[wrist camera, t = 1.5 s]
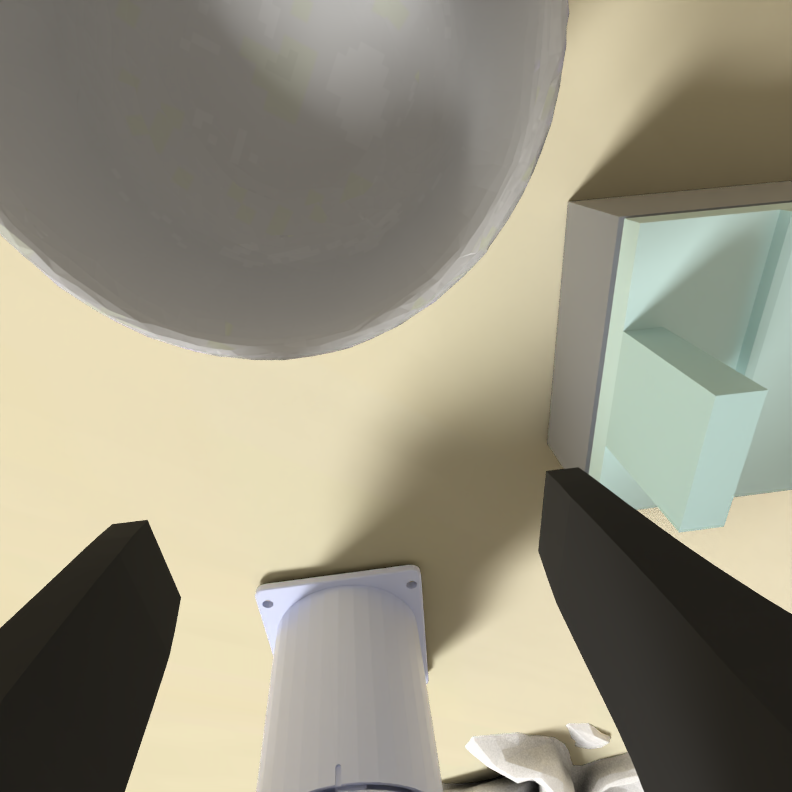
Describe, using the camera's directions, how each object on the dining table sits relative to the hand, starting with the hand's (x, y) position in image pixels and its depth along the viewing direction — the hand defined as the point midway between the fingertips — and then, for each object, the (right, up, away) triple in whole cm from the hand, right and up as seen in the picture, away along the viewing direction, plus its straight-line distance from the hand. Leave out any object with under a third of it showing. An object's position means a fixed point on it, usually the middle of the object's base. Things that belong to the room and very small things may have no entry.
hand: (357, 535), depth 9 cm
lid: (+13, +4, +7) cm, 16 cm away
